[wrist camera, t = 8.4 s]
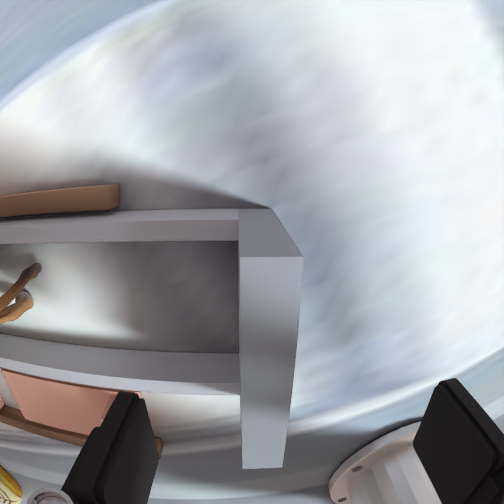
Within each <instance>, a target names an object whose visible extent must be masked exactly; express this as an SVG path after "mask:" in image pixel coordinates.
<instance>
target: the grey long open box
mask: <svg viewBox="0 0 504 504" xmlns="http://www.w3.org/2000/svg"><path fill="white" fill-rule="evenodd" d="M131 241H238V303H239V353H183V352H158V351H140V350H125V349H113V348H102V347H91V346H82V345H73V344H65V343H57V342H50V341H43V340H36V339H30V338H23V337H17V336H12V335H6V334H1V333H0V367H2V368H6V369H10V370H14V371H18V372H22V373H27V374H31V375H36V376H40V377H45V378H50V379H55V380H61V381H66V382H72V383H78V384H85V385H91V386H98V387H106V388H114V389H123V390H132V391H143V392H156V393H171V394H192V395H240V411H241V441H242V469H261V468H279V467H282V465H283V458H284V451H285V444H286V436H287V429H288V421H289V413H290V404H291V396H292V387H293V378H294V368H295V358H296V348H297V337H298V326H299V314H300V302H301V288H302V274H303V258H304V257H303V255H302V254H301V252H300V251H299V249H298V247H297V246H296V244H295V243H294V241H293V240H292V238H291V237H290V235H289V234H288V232H287V231H286V229H285V228H284V226H283V225H282V223H281V222H280V220H279V219H278V217H277V216H276V214H275V213H274V211H273V210H272V209H170V210H137V211H112V212H91V213H73V214H57V215H42V216H29V217H16V218H4V219H0V244H26V243H71V242H131Z"/></svg>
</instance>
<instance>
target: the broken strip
mask: <svg viewBox="0 0 504 504" xmlns="http://www.w3.org/2000/svg"><path fill="white" fill-rule="evenodd" d="M1 371H2V373H3V375H4V378H5V380H6V382H7V384H8V386H9V388H10V391H11V393H12V395H13V397H14V399H15V401H16V403H17V405H18V407H19V408H20V410H21V412H22V414H23V416H24V418H25V419H27V420H30V421H33V422H37V423H40V424H44V425H47V426H51V427H55V428H59V429H63V430H67V431H72V432H76V433H81V434H85V435H89V434H90V433H91V431H92V430H93V428H95V427H100V426H101V424H102V422H103V420H104V418H105V416H106V414H107V412H108V410H109V408H110V407H111V405H112V403H113V401H114V399H115V397H116V395H117V394H118V392H120V390H112V389H104V388H97V387H90V386H83V385H77V384H71V383H65V382H60V381H54V380H49V379H44V378H40V377H35V376H30V375H26V374H22V373H17V372H13V371H9V370H6V369H2V370H1ZM123 392H130V391H123ZM130 393H137V394H138V395H139V398H142V397H141V393H140V392H130ZM4 404H5V403H4V401H3V399H2V397H1V395H0V409H1V408H2V406H3V405H4Z"/></svg>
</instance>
